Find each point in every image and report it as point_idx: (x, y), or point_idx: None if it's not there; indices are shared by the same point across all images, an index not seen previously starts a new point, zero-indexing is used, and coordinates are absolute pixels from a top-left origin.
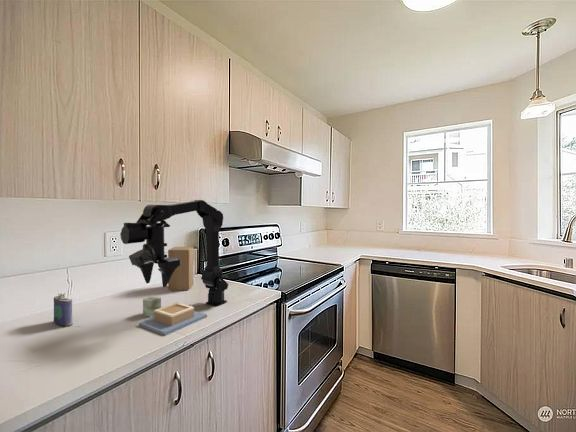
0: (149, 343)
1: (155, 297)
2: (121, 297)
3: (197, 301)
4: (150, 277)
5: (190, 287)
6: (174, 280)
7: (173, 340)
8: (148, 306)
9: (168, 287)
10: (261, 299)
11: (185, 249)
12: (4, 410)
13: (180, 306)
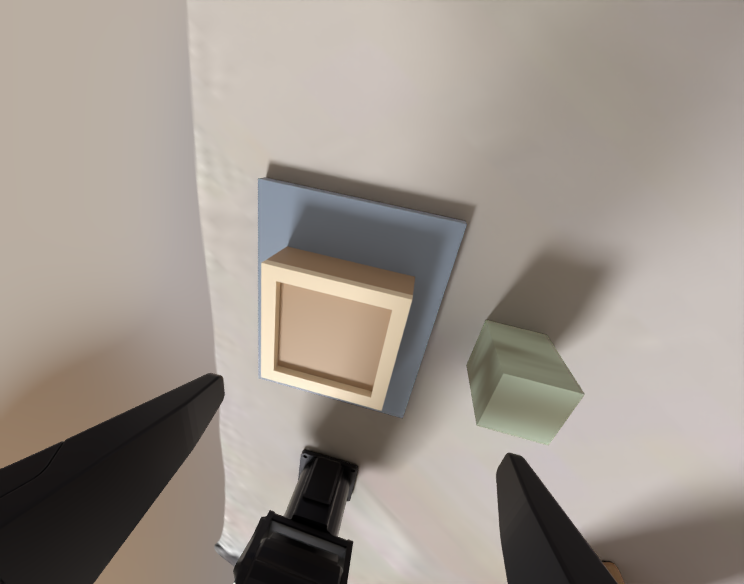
0: (258, 75)
1: (517, 427)
2: None
3: (403, 478)
4: (505, 553)
5: None
6: None
7: (199, 151)
8: (513, 354)
9: (621, 579)
10: (226, 504)
11: None
12: None
13: (340, 381)
